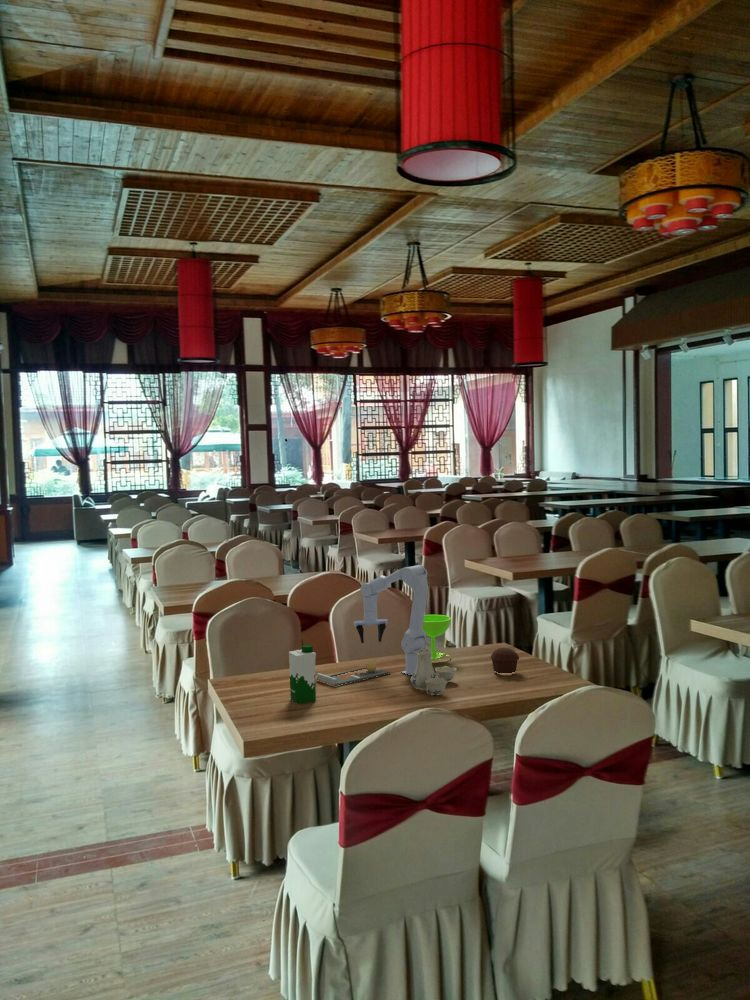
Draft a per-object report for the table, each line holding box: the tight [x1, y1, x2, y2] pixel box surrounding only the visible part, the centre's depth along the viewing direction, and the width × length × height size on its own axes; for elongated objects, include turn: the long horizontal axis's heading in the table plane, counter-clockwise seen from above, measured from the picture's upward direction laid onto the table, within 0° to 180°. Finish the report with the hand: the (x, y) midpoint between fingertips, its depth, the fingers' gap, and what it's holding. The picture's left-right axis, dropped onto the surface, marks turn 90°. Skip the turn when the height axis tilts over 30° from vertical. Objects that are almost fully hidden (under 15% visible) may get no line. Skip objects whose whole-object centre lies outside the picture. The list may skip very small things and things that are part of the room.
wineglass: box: [422, 614, 452, 661], centre depth 355 cm, size 16×16×18 cm
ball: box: [365, 662, 377, 672], centre depth 333 cm, size 4×4×4 cm
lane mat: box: [316, 666, 391, 687], centre depth 327 cm, size 12×28×3 cm, turn 129°
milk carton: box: [288, 644, 317, 705], centre depth 297 cm, size 9×9×20 cm
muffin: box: [490, 647, 520, 673], centre depth 330 cm, size 12×11×10 cm
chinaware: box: [410, 646, 457, 696], centre depth 310 cm, size 28×17×17 cm, turn 168°
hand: (371, 642), depth 347 cm, fingers open, 7 cm apart
